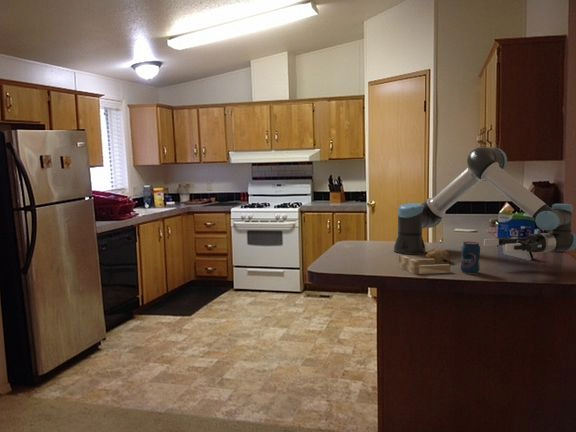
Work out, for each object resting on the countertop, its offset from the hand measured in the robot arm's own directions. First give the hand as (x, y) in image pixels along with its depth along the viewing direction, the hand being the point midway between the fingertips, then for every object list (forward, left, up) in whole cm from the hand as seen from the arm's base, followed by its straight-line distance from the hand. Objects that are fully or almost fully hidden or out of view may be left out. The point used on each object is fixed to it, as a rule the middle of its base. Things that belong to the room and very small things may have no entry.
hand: (494, 245), depth 199 cm
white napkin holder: (-25, +31, -11) cm, 41 cm away
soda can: (0, -10, -11) cm, 15 cm away
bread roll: (-24, -12, -11) cm, 28 cm away
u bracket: (-9, -26, -11) cm, 29 cm away
